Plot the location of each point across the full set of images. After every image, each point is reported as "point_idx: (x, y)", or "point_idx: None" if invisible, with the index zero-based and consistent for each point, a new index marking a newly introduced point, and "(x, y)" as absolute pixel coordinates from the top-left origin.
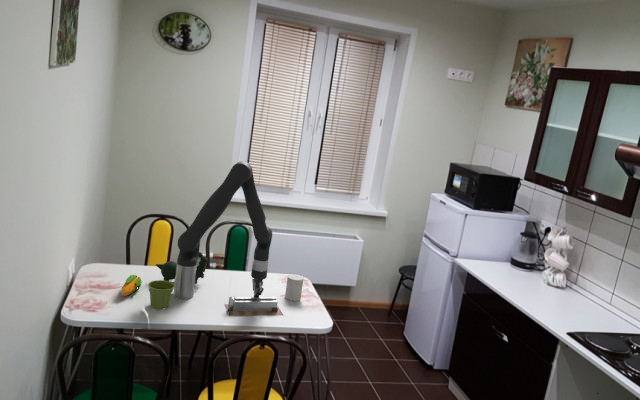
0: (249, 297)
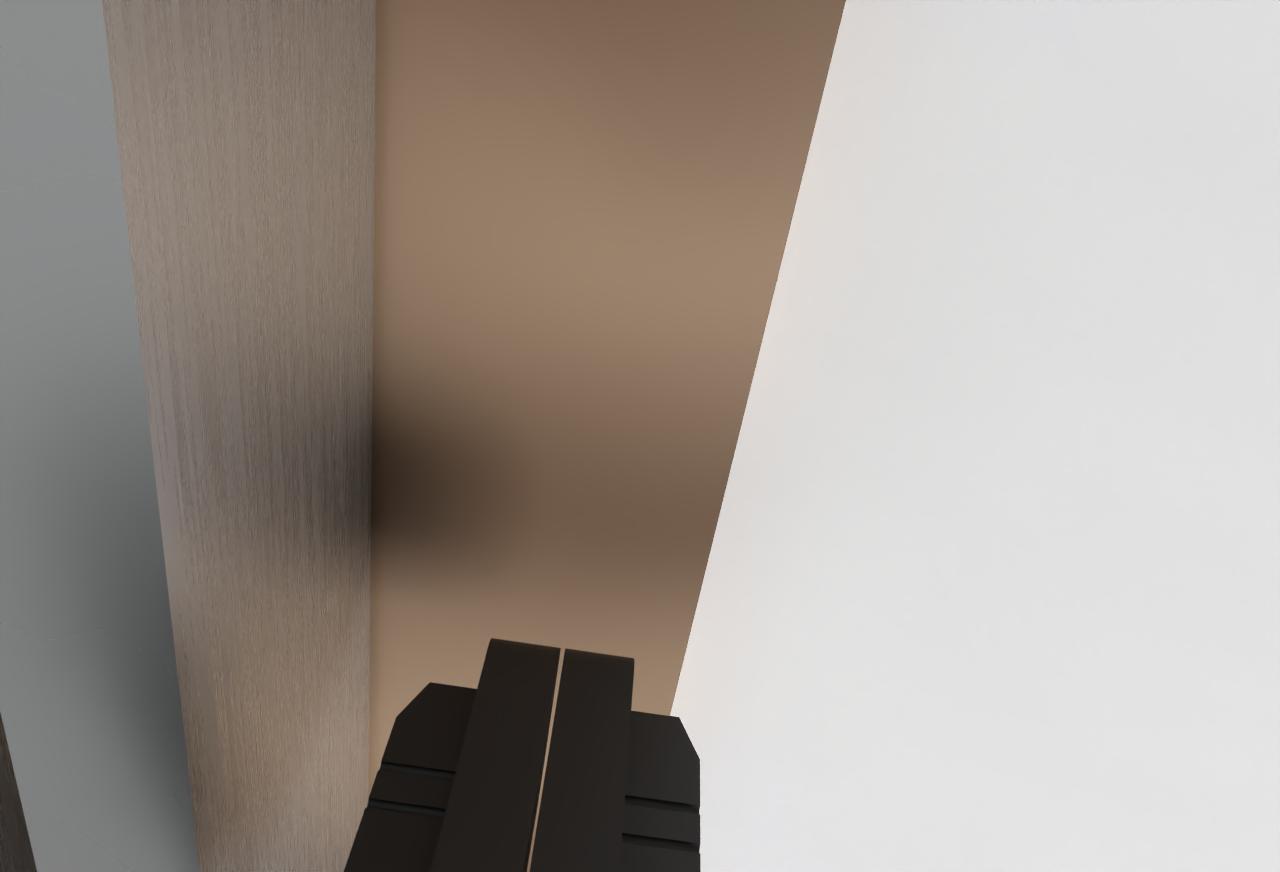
0: (166, 532)
